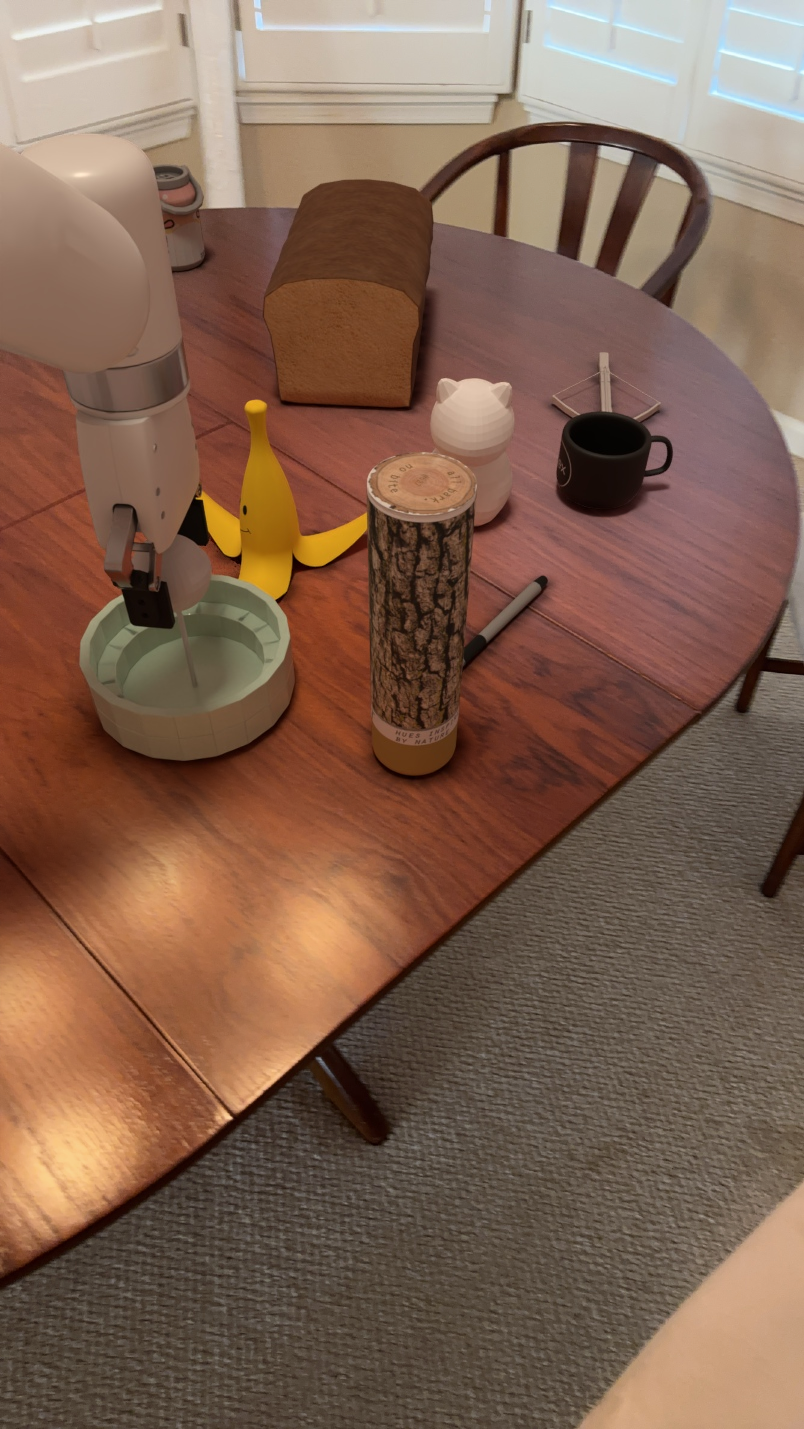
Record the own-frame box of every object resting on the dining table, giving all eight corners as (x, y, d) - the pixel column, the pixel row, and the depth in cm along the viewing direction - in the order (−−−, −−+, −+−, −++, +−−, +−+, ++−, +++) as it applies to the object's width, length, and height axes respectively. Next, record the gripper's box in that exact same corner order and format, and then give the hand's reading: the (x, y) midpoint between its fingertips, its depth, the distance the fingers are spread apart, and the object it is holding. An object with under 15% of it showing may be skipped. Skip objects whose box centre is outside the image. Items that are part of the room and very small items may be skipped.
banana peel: (237, 636, 84) (210, 475, 72) (193, 517, 96) (164, 362, 84) (409, 596, 88) (413, 437, 76) (347, 486, 100) (341, 333, 88)
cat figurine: (418, 536, 95) (422, 399, 84) (429, 467, 103) (434, 334, 92) (507, 543, 94) (523, 406, 83) (511, 473, 103) (526, 340, 92)
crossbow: (660, 441, 109) (664, 426, 107) (550, 434, 109) (552, 418, 108) (652, 366, 119) (656, 350, 117) (551, 359, 119) (554, 344, 118)
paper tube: (471, 737, 77) (497, 473, 58) (427, 793, 73) (441, 528, 55) (400, 704, 79) (404, 440, 61) (355, 756, 75) (344, 491, 57)
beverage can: (222, 263, 139) (211, 173, 130) (176, 280, 135) (161, 189, 126) (183, 245, 143) (170, 157, 134) (138, 261, 139) (121, 172, 130)
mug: (564, 520, 97) (574, 460, 92) (545, 471, 103) (553, 412, 98) (677, 514, 98) (693, 453, 93) (652, 465, 104) (666, 406, 99)
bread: (433, 300, 131) (437, 173, 119) (420, 412, 111) (424, 273, 99) (304, 295, 132) (295, 168, 120) (268, 405, 112) (253, 266, 100)
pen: (549, 587, 90) (550, 576, 89) (449, 685, 81) (450, 674, 80) (537, 581, 90) (539, 570, 89) (437, 678, 81) (437, 667, 80)
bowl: (68, 756, 75) (47, 705, 71) (131, 618, 86) (117, 566, 82) (272, 776, 74) (265, 725, 70) (310, 633, 85) (306, 581, 81)
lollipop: (174, 721, 77) (138, 577, 66) (147, 677, 80) (108, 533, 69) (243, 692, 79) (219, 549, 68) (214, 651, 82) (186, 507, 71)
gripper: (111, 303, 65) (157, 511, 77) (13, 437, 53) (85, 656, 66) (218, 310, 64) (246, 518, 77) (143, 447, 53) (190, 666, 65)
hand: (172, 581), depth 71 cm, fingers open, 9 cm apart
